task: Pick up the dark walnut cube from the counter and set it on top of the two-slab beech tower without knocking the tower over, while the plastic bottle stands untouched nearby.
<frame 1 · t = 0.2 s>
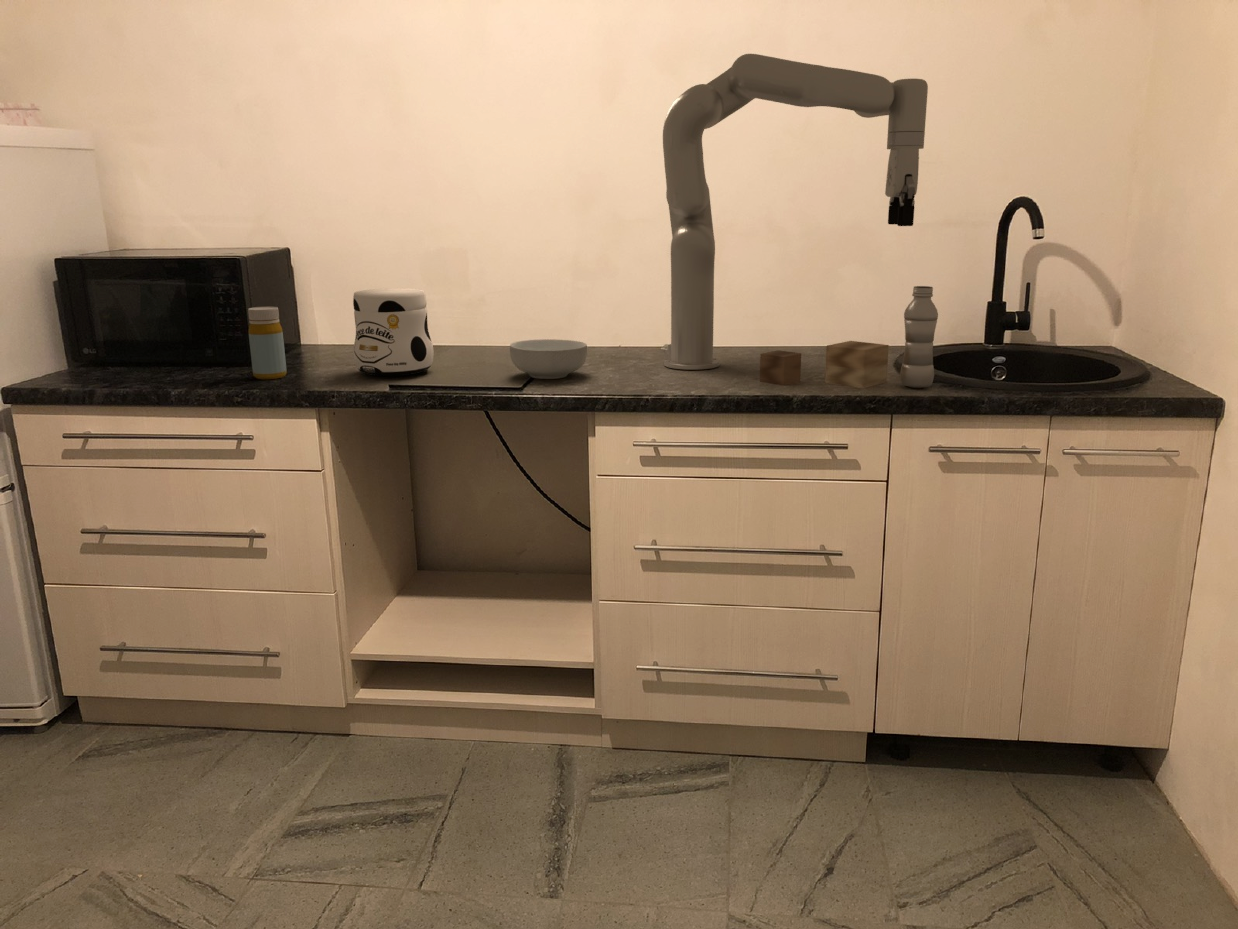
hand: (900, 225, 213), 31 cm above the worktop, tool pointing down, fingers open, 9 cm apart
bottle: (270, 377, 217), on the worktop
cereal bowl: (549, 376, 215), on the worktop
tower base: (855, 383, 205), on the worktop
tower top: (856, 364, 204), point 4 cm above the worktop
plastic bottle: (916, 388, 199), on the worktop
doce de leite jar: (395, 374, 220), on the worktop
walnut cube: (779, 381, 206), on the worktop
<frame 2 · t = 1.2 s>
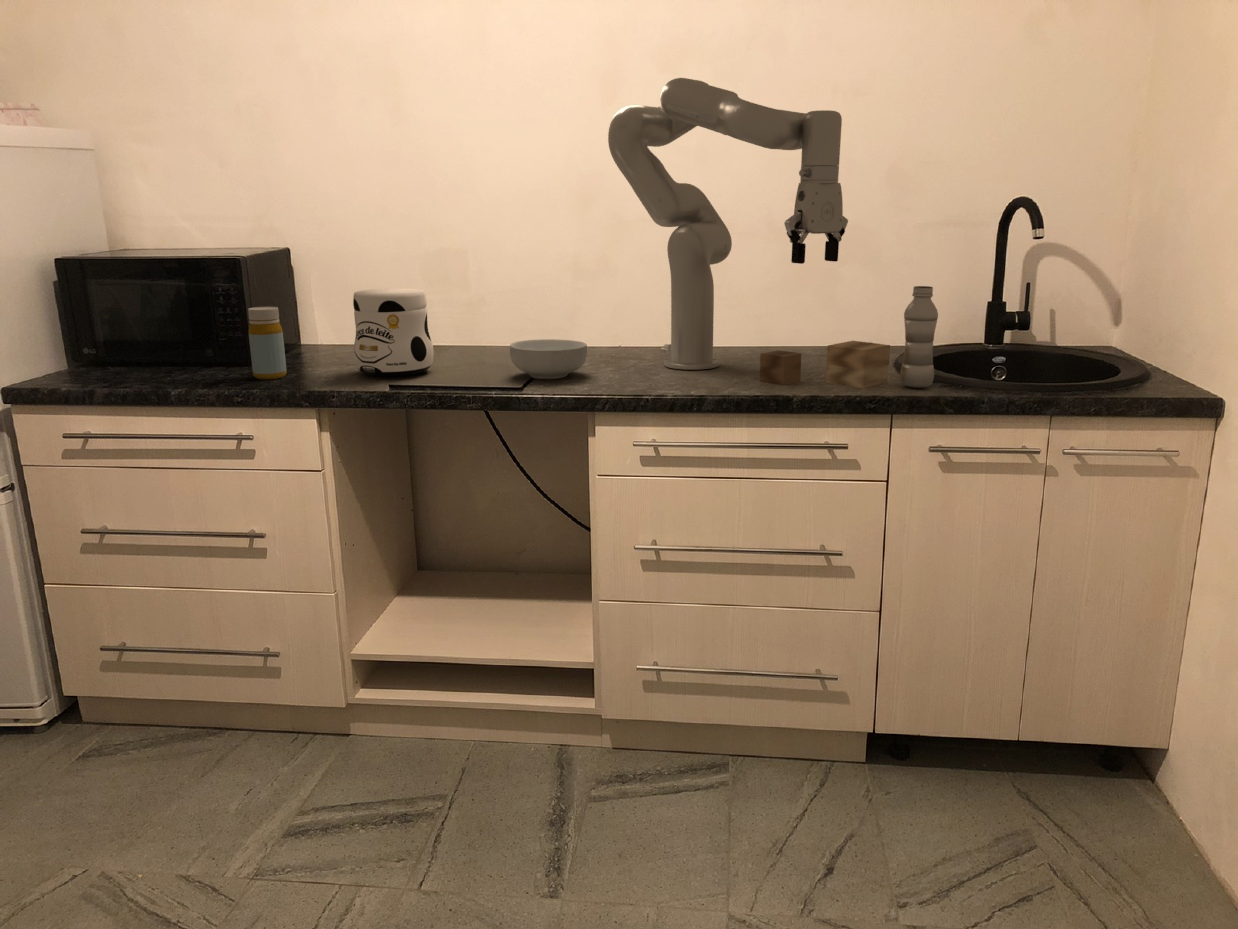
hand: (814, 262, 204), 24 cm above the worktop, tool pointing down, fingers open, 9 cm apart
tower base: (856, 383, 205), on the worktop, touching tower top
tower top: (857, 364, 204), point 4 cm above the worktop, touching tower base
everything else where it was.
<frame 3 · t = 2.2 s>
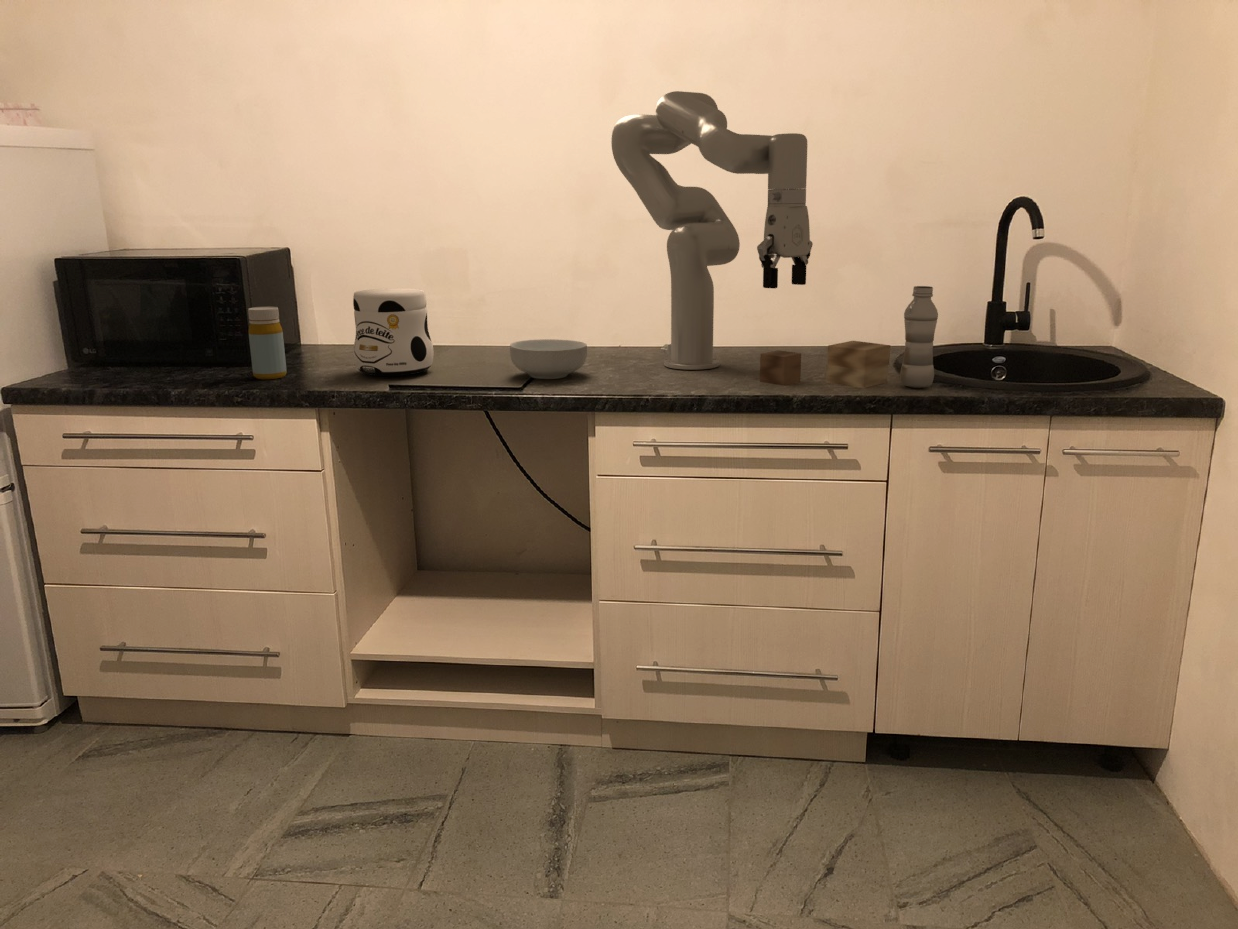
hand: (784, 286, 201), 20 cm above the worktop, tool pointing down, fingers open, 9 cm apart
nothing on the worktop moved.
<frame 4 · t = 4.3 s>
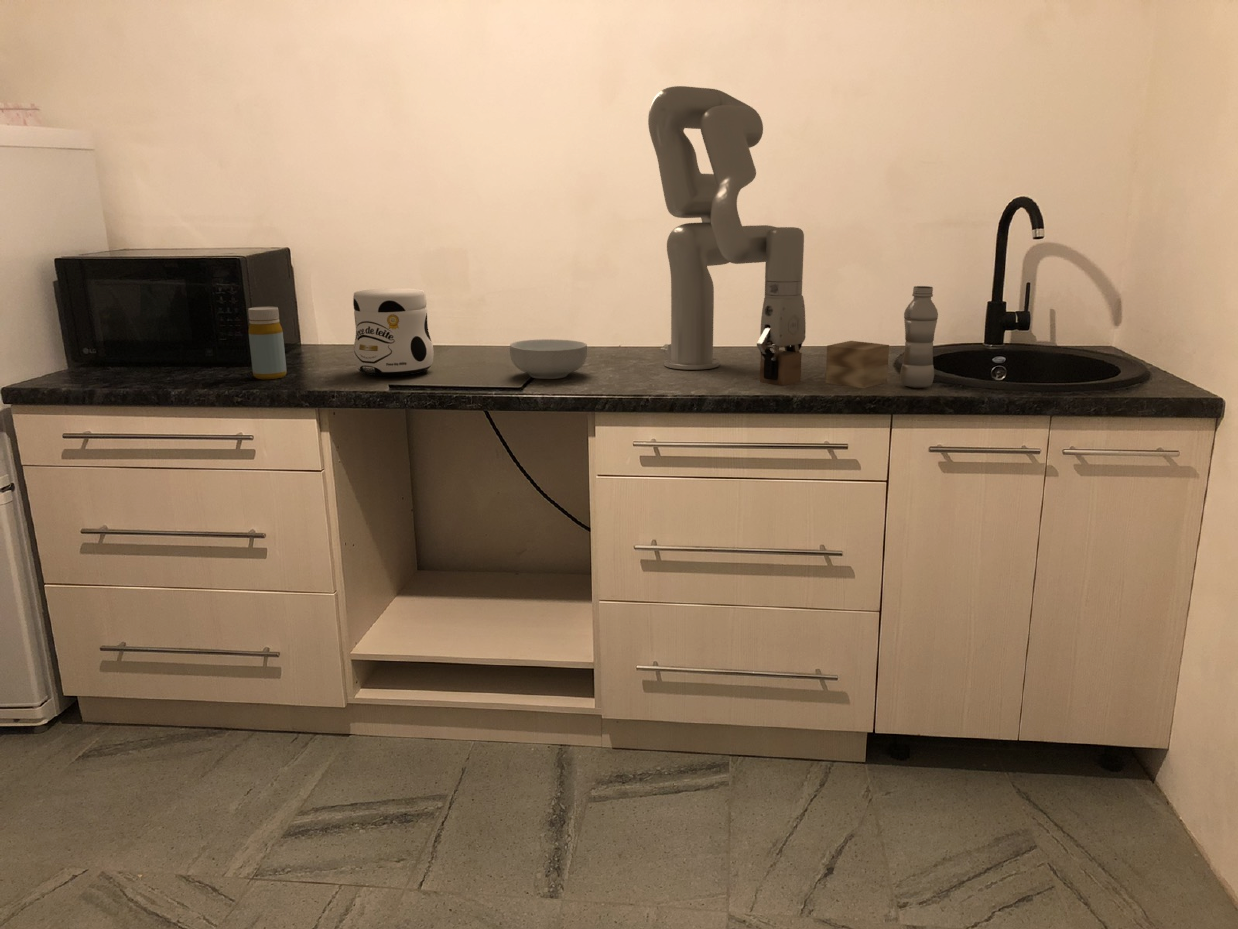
hand: (780, 376, 206), 1 cm above the worktop, tool pointing down, fingers closed on walnut cube, 6 cm apart
tower base: (856, 383, 205), on the worktop
tower top: (857, 364, 204), point 4 cm above the worktop
walnut cube: (780, 381, 206), on the worktop, touching gripper
everything else where it was.
when the fingers open (10 cm above the worktop, at t = 9.5 s): walnut cube drops 1 cm, resting on tower top.
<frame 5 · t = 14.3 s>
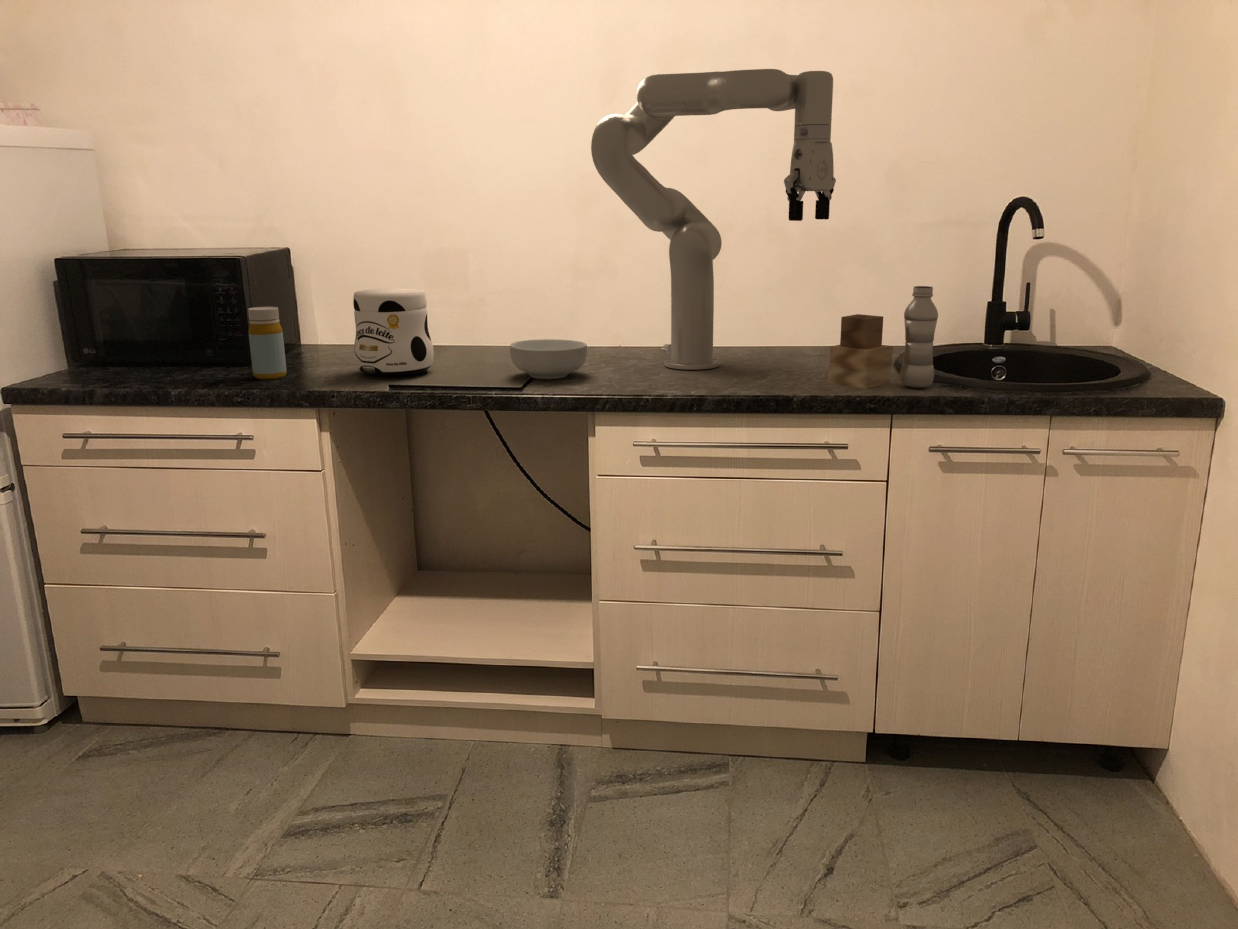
hand: (808, 219, 210), 32 cm above the worktop, tool pointing down, fingers open, 9 cm apart
tower base: (858, 384, 205), on the worktop, touching tower top
tower top: (860, 365, 203), point 4 cm above the worktop, touching tower base, walnut cube
walnut cube: (860, 346, 202), point 8 cm above the worktop, touching tower top
everything else where it was.
at the end: walnut cube 0.3 cm from the tower top (horizontally); walnut cube point 7.6 cm above the worktop; tower top tilted 0° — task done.
